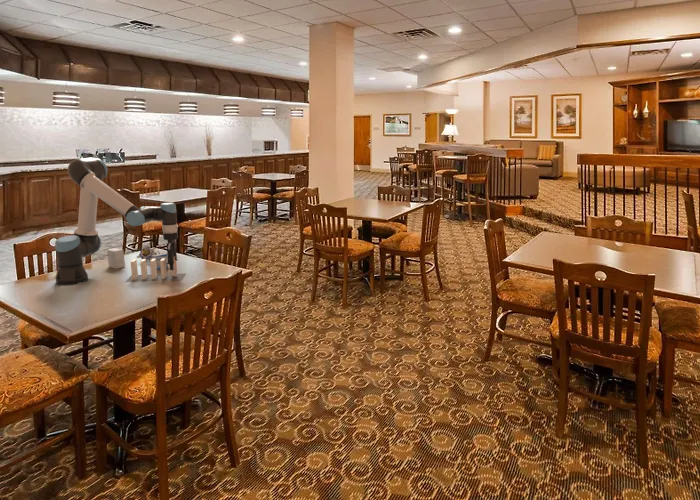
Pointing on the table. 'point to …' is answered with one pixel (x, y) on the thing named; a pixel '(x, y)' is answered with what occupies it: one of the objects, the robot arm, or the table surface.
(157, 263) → the medicine box
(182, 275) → the domino mat
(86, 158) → the robot arm
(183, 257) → the table surface
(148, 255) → the passion flower
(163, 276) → the domino
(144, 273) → the domino
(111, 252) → the small box
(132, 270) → the domino
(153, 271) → the domino
